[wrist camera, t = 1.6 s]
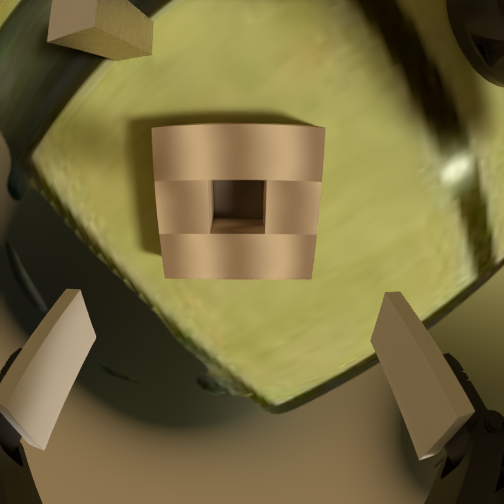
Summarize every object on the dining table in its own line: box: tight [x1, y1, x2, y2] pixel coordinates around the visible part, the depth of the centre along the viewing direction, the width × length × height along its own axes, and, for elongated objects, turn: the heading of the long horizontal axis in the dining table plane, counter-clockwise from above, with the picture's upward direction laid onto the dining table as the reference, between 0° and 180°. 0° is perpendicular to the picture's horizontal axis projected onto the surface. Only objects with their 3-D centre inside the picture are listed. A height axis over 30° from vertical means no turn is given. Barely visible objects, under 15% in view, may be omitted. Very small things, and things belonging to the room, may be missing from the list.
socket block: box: [152, 122, 325, 279], centre depth 27 cm, size 14×14×4 cm
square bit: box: [47, 0, 153, 61], centre depth 16 cm, size 4×4×12 cm
